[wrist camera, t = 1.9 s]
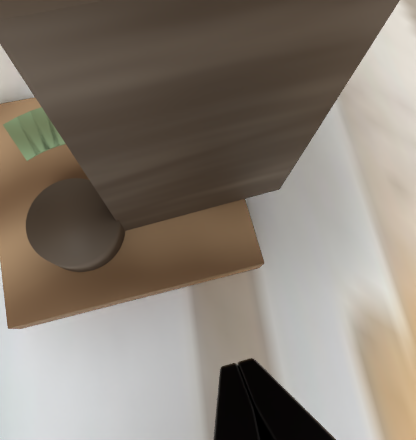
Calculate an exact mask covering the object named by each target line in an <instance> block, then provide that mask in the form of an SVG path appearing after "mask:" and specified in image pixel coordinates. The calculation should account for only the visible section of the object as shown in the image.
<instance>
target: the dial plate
mask: <svg viewBox="0 0 416 440" xmlns="http://www.w3.org/2000/svg"><path fill="white" fill-rule="evenodd" d="M70 178H82V179H88V177H87V176H86V174H85V172H84V171H83V169H82V168H81V166H80V165H79V163H78V162H77V160H76V159H75V157H74V156H73V154H72V153H71V151H70V150H69V148H68V147H67V145H66V143H65V142H64V140H63V139H62V137H61V136H60V134H59V133H58V131H57V130H56V128H55V127H54V125H53V124H52V122H51V121H50V119H49V118H48V116H47V114H46V113H45V111H44V110H43V108H42V107H41V105H40V104H39V102H38V101H37V99H36V98H30V99H24V100H19V101H14V102H8V103H3V104H0V261H1V271H2V280H3V289H4V298H5V307H6V316H7V325H8V329H22V328H26V327H30V326H34V325H38V324H42V323H46V322H49V321H53V320H57V319H61V318H65V317H69V316H73V315H77V314H81V313H85V312H88V311H92V310H96V309H100V308H104V307H108V306H112V305H116V304H120V303H124V302H127V301H131V300H135V299H139V298H143V297H147V296H151V295H155V294H159V293H163V292H167V291H170V290H174V289H178V288H182V287H186V286H190V285H194V284H198V283H202V282H206V281H209V280H213V279H217V278H221V277H225V276H229V275H233V274H237V273H241V272H245V271H248V270H252V269H256V268H260V267H261V266H262V265H263V264H264V260H263V257H262V254H261V250H260V247H259V244H258V241H257V237H256V234H255V231H254V227H253V224H252V221H251V218H250V214H249V211H248V208H247V204H246V201H245V199H242V200H238V201H234V202H231V203H227V204H223V205H219V206H216V207H212V208H208V209H205V210H201V211H197V212H194V213H190V214H186V215H182V216H179V217H175V218H171V219H168V220H164V221H160V222H156V223H153V224H149V225H145V226H142V227H138V228H134V229H131V230H127V231H125V237H124V241H123V243H122V246H121V248H120V250H119V251H118V253H117V254H116V255H115V256H114V257H113V259H112V260H110V261H109V262H108V263H107V264H105V265H104V266H102V267H100V268H98V269H95V270H92V271H87V272H73V271H69V270H65V269H63V268H61V267H59V266H57V265H55V264H53V263H51V262H49V261H47V260H45V259H44V258H42V257H41V256H40V255H38V254H37V253H36V252H35V250H34V249H33V248H32V246H31V244H30V243H29V240H28V238H27V234H26V218H27V214H28V210H29V208H30V206H31V204H32V202H33V201H34V199H35V198H36V197H37V196H38V195H39V194H40V193H41V192H42V191H43V190H44V189H45V188H47V187H48V186H50V185H52V184H54V183H56V182H58V181H61V180H65V179H70ZM88 180H89V179H88Z"/></svg>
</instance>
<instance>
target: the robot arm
mask: <svg viewBox="0 0 416 440" xmlns="http://www.w3.org/2000/svg"><path fill="white" fill-rule="evenodd" d="M214 440H336V439H335V438H334V437H333V436H332V435H331V434H330V433H329V432H328V431H327V430H326V429H325V428H324V427H323V426H322V425H321V424H320V423H319V422H318V421H317V420H316V419H314V418H313V417H312V416H311V415H310V414H309V413H308V412H307V411H306V410H305V409H304V408H303V407H302V406H301V405H300V404H299V403H298V402H297V401H296V400H295V399H294V398H293V397H292V396H291V395H290V394H289V393H288V392H287V391H286V390H285V389H284V388H283V387H282V386H281V385H280V384H279V383H278V382H277V381H276V380H275V379H274V378H273V377H272V376H271V375H270V374H269V373H268V372H267V371H266V370H265V369H264V368H263V367H262V366H261V365H260V364H259V363H258V362H257V361H256V360H254V359H252V358H251V359H247V360H243V361H240V362H238V364H235V363H233V364H229V365H225V366H222V367H221V369H220V377H219V388H218V398H217V409H216V420H215V430H214Z"/></svg>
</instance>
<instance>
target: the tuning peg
mask: <svg viewBox="0 0 416 440" xmlns="http://www.w3.org/2000/svg"><path fill="white" fill-rule="evenodd" d="M399 1H400V0H0V44H1V46H2V47H3V49H4V50H5V52H6V53H7V55H8V56H9V58H10V60H11V61H12V63H13V64H14V66H15V67H16V69H17V70H18V72H19V73H20V75H21V76H22V78H23V79H24V81H25V82H26V84H27V85H28V87H29V89H30V90H31V92H32V93H33V95H34V96H35V98H36V99H37V101H38V102H39V104H40V105H41V107H42V108H43V110H44V111H45V113H46V114H47V116H48V118H49V119H50V121H51V122H52V124H53V125H54V127H55V128H56V130H57V131H58V133H59V134H60V136H61V137H62V139H63V140H64V142H65V143H66V145H67V147H68V148H69V150H70V151H71V153H72V154H73V156H74V157H75V159H76V160H77V162H78V163H79V165H80V166H81V168H82V169H83V171H84V172H85V174H86V176H87V177H88V179H89V180H88V179H82V178H70V179H65V180H61V181H58V182H56V183H54V184H52V185H50V186H48V187H47V188H45V189H44V190H43V191H42V192H41V193H40V194H39V195H38V196H37V197H36V198H35V199H34V201H33V202H32V204H31V206H30V208H29V210H28V214H27V218H26V234H27V238H28V240H29V243H30V244H31V246H32V248H33V249H34V250H35V252H36V253H37V254H38V255H40V256H41V257H42V258H44V259H45V260H47V261H49V262H51V263H53V264H55V265H57V266H59V267H61V268H63V269H65V270H69V271H73V272H87V271H92V270H95V269H98V268H100V267H102V266H104V265H105V264H107V263H108V262H109V261H110V260H112V259H113V257H114V256H115V255H116V254H117V253H118V251H119V250H120V248H121V246H122V243H123V241H124V237H125V231H127V230H131V229H134V228H138V227H142V226H145V225H149V224H153V223H156V222H160V221H164V220H168V219H171V218H175V217H179V216H182V215H186V214H190V213H194V212H197V211H201V210H205V209H208V208H212V207H216V206H219V205H223V204H227V203H231V202H234V201H238V200H242V199H245V198H249V197H253V196H257V195H260V194H264V193H268V192H271V191H275V190H279V189H280V188H281V186H282V185H283V183H284V181H285V180H286V178H287V177H288V175H289V174H290V172H291V170H292V169H293V167H294V166H295V164H296V163H297V161H298V159H299V158H300V156H301V155H302V153H303V152H304V150H305V148H306V147H307V145H308V144H309V142H310V141H311V139H312V137H313V136H314V134H315V133H316V131H317V130H318V128H319V126H320V125H321V123H322V122H323V120H324V119H325V117H326V115H327V114H328V112H329V111H330V109H331V108H332V106H333V104H334V103H335V101H336V100H337V98H338V97H339V95H340V93H341V92H342V90H343V89H344V87H345V85H346V84H347V82H348V81H349V79H350V78H351V76H352V74H353V73H354V71H355V70H356V68H357V67H358V65H359V63H360V62H361V60H362V59H363V57H364V56H365V54H366V52H367V51H368V49H369V48H370V46H371V45H372V43H373V41H374V40H375V38H376V37H377V35H378V34H379V32H380V30H381V29H382V27H383V26H384V24H385V23H386V21H387V19H388V18H389V16H390V15H391V13H392V12H393V10H394V8H395V7H396V5H397V4H398V2H399Z"/></svg>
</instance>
